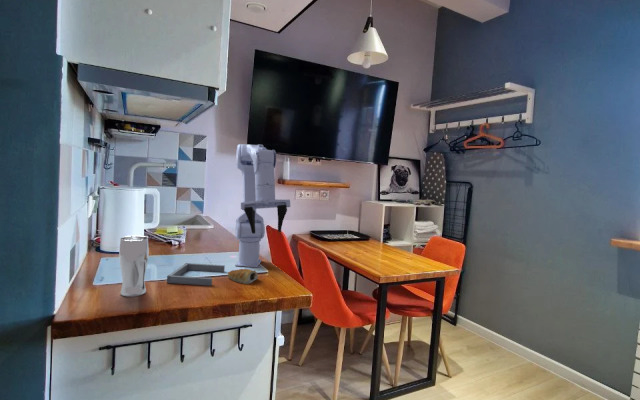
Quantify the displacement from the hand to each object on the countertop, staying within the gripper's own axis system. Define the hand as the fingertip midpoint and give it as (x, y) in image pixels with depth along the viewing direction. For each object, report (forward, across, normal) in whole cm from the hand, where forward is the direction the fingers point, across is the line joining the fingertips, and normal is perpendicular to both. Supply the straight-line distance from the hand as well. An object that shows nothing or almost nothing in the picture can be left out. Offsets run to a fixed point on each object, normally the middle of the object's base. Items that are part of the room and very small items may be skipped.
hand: (266, 232), depth 106 cm
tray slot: (+11, -24, +12) cm, 28 cm away
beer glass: (+15, -36, -5) cm, 39 cm away
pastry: (+13, -10, +12) cm, 20 cm away
